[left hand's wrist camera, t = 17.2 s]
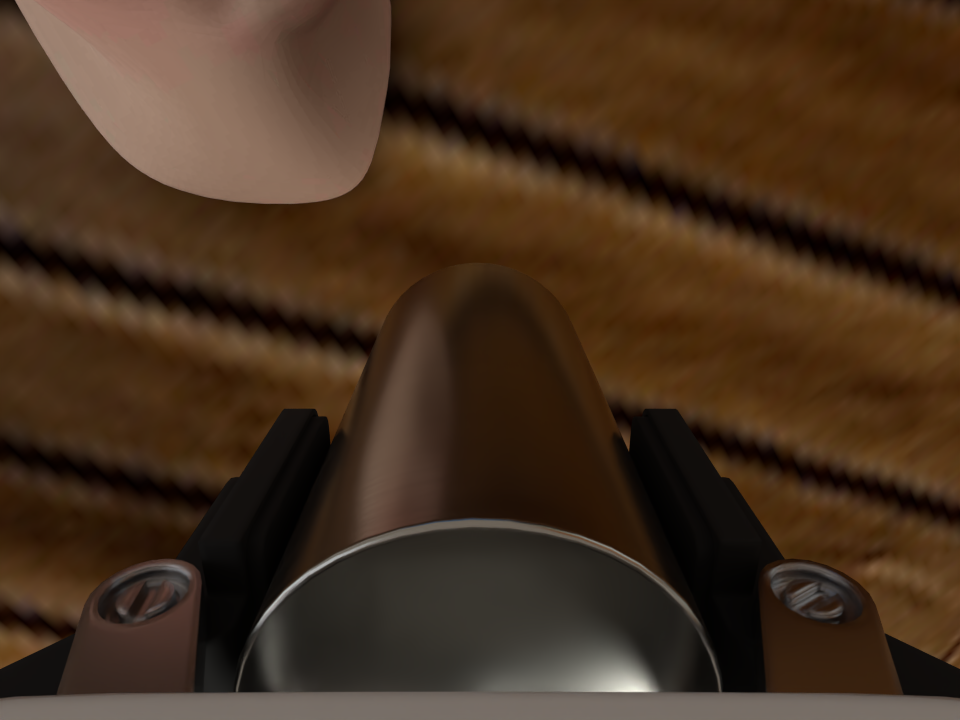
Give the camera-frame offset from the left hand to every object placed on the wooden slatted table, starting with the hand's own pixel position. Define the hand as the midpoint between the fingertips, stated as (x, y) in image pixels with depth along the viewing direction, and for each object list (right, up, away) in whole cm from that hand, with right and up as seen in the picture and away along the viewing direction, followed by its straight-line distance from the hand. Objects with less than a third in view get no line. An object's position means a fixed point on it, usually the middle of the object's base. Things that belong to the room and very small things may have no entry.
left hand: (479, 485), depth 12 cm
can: (0, +2, +6) cm, 6 cm away
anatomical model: (-9, +14, +9) cm, 18 cm away
